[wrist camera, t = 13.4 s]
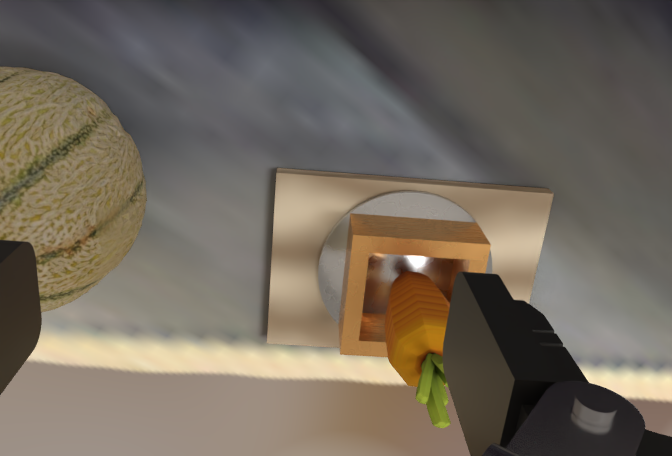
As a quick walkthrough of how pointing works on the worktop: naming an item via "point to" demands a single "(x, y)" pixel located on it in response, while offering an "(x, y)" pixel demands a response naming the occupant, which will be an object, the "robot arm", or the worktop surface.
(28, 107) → the cantaloupe
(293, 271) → the base board
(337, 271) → the socket collar
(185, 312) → the worktop surface
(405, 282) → the carrot
